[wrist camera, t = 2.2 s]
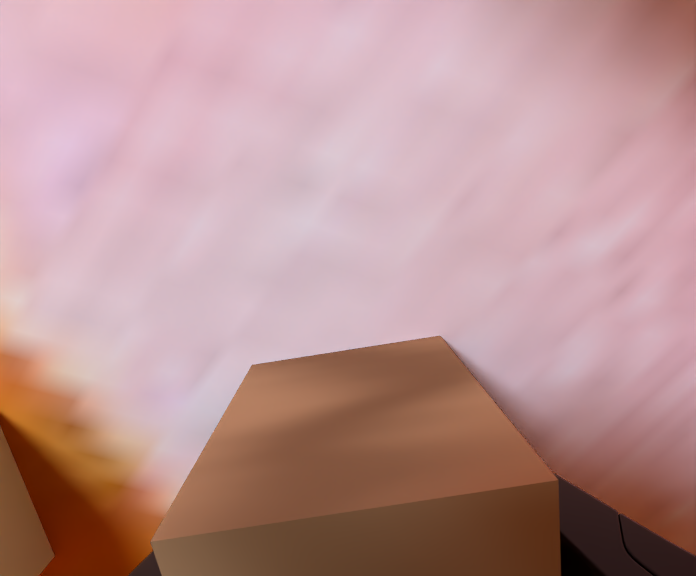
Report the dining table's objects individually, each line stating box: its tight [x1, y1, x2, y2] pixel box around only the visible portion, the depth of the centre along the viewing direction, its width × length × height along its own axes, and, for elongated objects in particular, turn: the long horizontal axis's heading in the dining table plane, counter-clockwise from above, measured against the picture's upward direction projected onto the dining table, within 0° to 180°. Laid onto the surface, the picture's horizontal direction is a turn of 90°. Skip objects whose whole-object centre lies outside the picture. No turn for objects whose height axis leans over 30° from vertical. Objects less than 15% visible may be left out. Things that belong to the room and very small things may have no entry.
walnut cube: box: [150, 336, 561, 576], centre depth 7 cm, size 5×5×5 cm
